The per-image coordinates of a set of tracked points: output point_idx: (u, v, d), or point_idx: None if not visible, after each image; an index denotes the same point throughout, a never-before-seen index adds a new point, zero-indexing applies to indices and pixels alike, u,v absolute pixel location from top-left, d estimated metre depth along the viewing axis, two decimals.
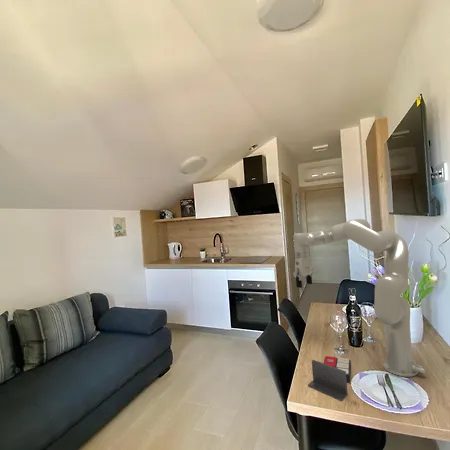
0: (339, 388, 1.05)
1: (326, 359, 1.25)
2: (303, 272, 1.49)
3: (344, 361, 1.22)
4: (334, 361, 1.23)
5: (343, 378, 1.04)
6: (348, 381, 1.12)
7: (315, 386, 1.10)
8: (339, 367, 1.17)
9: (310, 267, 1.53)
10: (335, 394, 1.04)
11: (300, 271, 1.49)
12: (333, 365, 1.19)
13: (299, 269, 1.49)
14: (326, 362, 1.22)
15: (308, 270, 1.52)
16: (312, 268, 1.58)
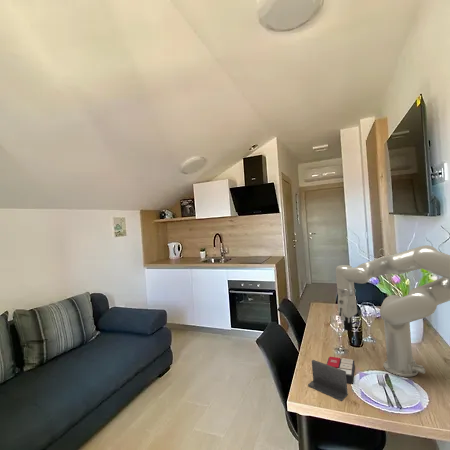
0: (339, 388, 1.05)
1: (329, 360, 1.25)
2: (348, 313, 1.26)
3: (348, 362, 1.21)
4: (337, 362, 1.22)
5: (343, 378, 1.04)
6: (351, 382, 1.11)
7: (315, 386, 1.10)
8: (342, 368, 1.17)
9: (355, 306, 1.30)
10: (335, 394, 1.04)
11: (345, 312, 1.26)
12: (336, 366, 1.19)
13: (344, 309, 1.26)
14: (329, 363, 1.22)
15: (353, 310, 1.29)
16: None
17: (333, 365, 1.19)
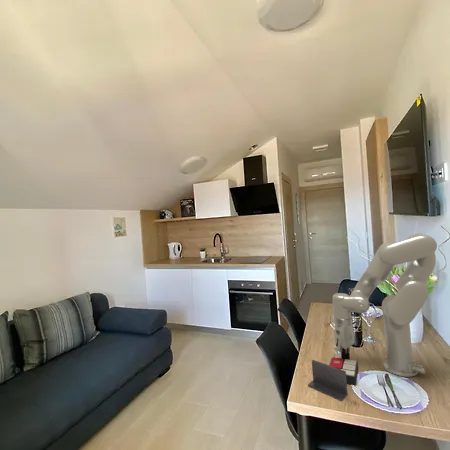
0: (339, 388, 1.05)
1: (332, 360, 1.24)
2: (345, 344, 1.22)
3: (351, 363, 1.20)
4: (340, 362, 1.21)
5: (343, 378, 1.04)
6: (354, 383, 1.10)
7: (315, 386, 1.10)
8: (345, 369, 1.16)
9: (353, 335, 1.27)
10: (335, 394, 1.04)
11: (342, 343, 1.22)
12: (339, 367, 1.18)
13: (340, 340, 1.23)
14: (332, 363, 1.21)
15: (351, 340, 1.25)
16: None
17: (336, 366, 1.18)
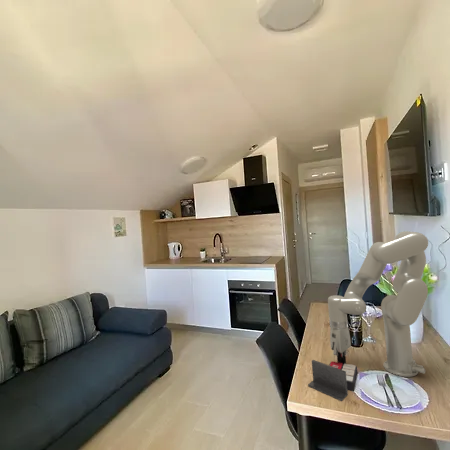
0: (339, 388, 1.05)
1: (331, 365, 1.20)
2: (341, 348, 1.19)
3: (350, 368, 1.17)
4: (339, 367, 1.18)
5: (343, 378, 1.04)
6: (352, 389, 1.06)
7: (315, 386, 1.10)
8: None
9: (349, 339, 1.24)
10: (335, 394, 1.04)
11: (338, 346, 1.19)
12: None
13: (336, 344, 1.20)
14: None
15: (347, 343, 1.22)
16: None
17: None
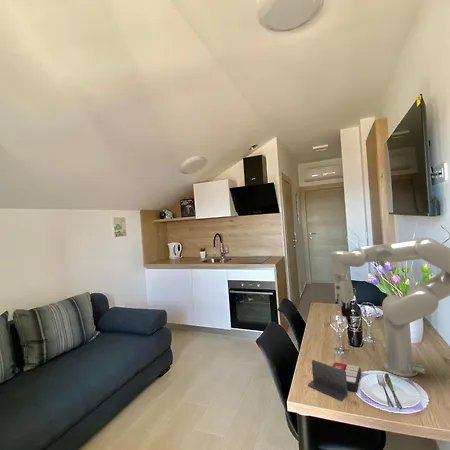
0: (339, 388, 1.05)
1: (334, 365, 1.19)
2: (346, 298, 1.24)
3: (353, 369, 1.16)
4: (342, 368, 1.17)
5: (343, 378, 1.04)
6: (355, 390, 1.05)
7: (315, 386, 1.10)
8: (346, 375, 1.11)
9: (352, 291, 1.29)
10: (335, 394, 1.04)
11: (342, 297, 1.24)
12: None
13: (341, 295, 1.24)
14: None
15: (350, 295, 1.27)
16: None
17: None
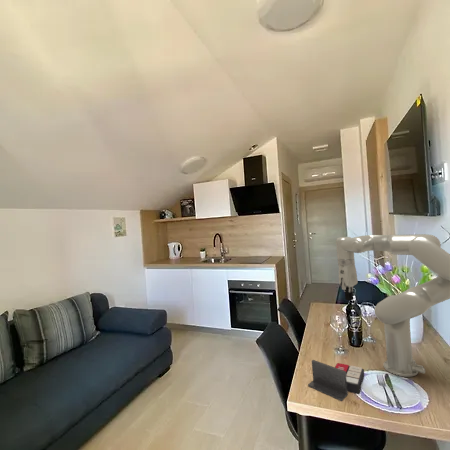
0: (339, 388, 1.05)
1: (337, 366, 1.19)
2: (349, 282, 1.29)
3: (356, 370, 1.15)
4: (345, 369, 1.16)
5: (343, 378, 1.04)
6: (357, 392, 1.04)
7: (315, 386, 1.10)
8: (349, 376, 1.10)
9: (356, 276, 1.34)
10: (335, 394, 1.04)
11: (346, 281, 1.29)
12: None
13: (344, 279, 1.30)
14: None
15: (354, 280, 1.32)
16: None
17: None
